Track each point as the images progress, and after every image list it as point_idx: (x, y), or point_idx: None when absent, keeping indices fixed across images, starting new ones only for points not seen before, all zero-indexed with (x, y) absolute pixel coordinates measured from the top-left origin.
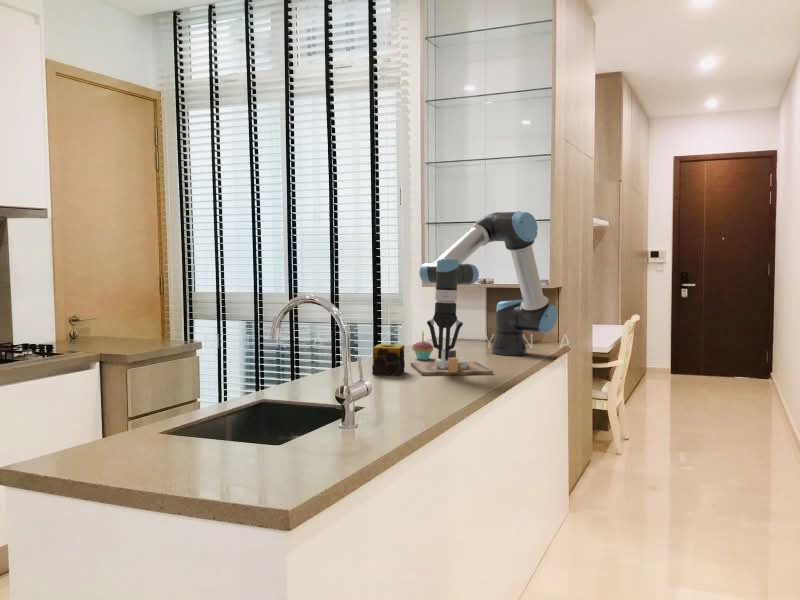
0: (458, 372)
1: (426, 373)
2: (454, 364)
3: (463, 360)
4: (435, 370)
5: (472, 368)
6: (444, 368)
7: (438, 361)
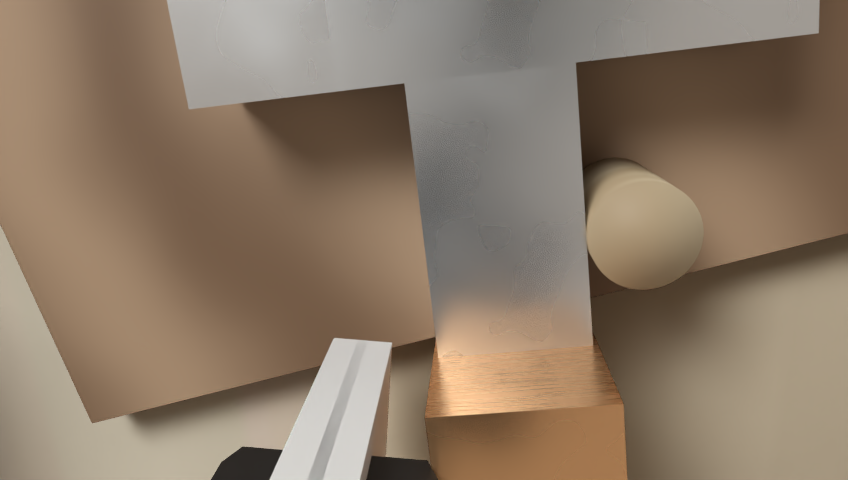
0: (600, 291)
1: (155, 401)
2: None
3: None
4: (246, 253)
5: None
6: (386, 442)
7: (224, 87)
